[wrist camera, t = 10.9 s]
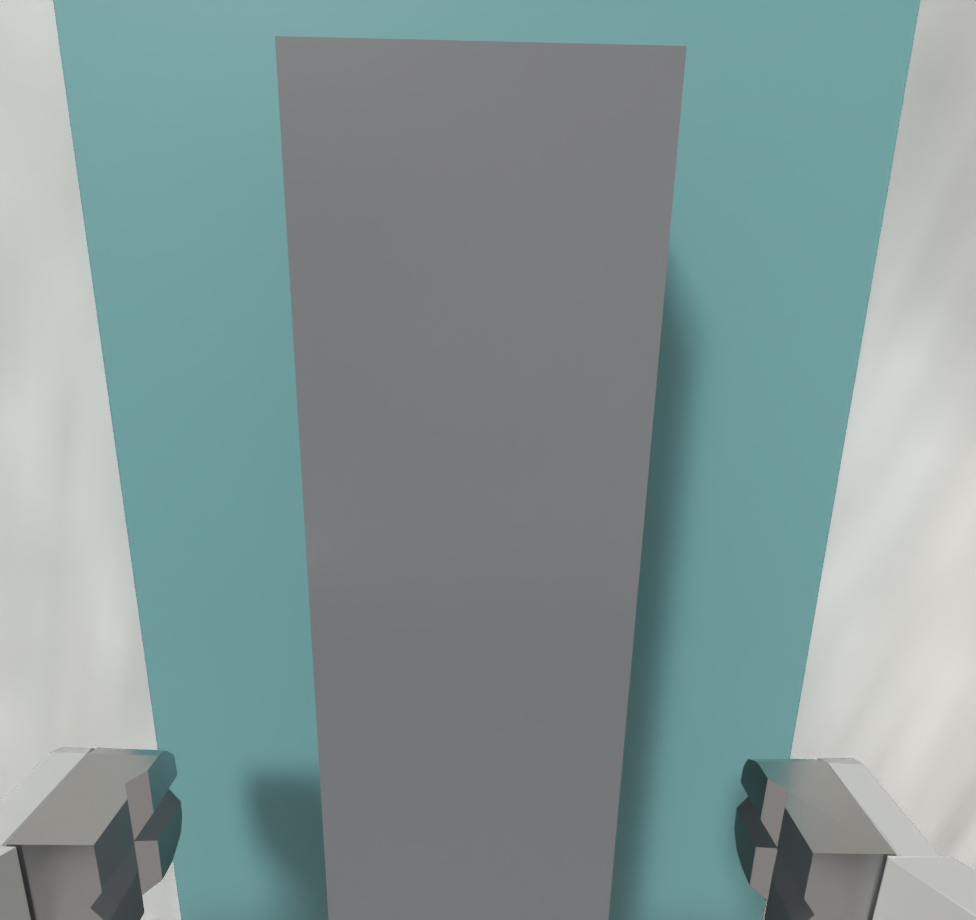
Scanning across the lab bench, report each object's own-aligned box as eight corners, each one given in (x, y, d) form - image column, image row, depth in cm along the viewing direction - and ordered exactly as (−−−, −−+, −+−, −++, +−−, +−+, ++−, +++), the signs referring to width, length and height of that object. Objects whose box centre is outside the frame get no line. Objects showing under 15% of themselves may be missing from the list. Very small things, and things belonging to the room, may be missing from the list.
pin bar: (547, 920, 16) (580, 1236, 10) (394, 918, 16) (347, 1234, 10) (590, 168, 11) (686, 46, 6) (375, 163, 11) (274, 36, 6)
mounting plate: (690, 1008, 17) (725, 1129, 14) (250, 1004, 16) (210, 1125, 14) (834, -13, 10) (938, -107, 8) (139, -31, 10) (34, -133, 8)
